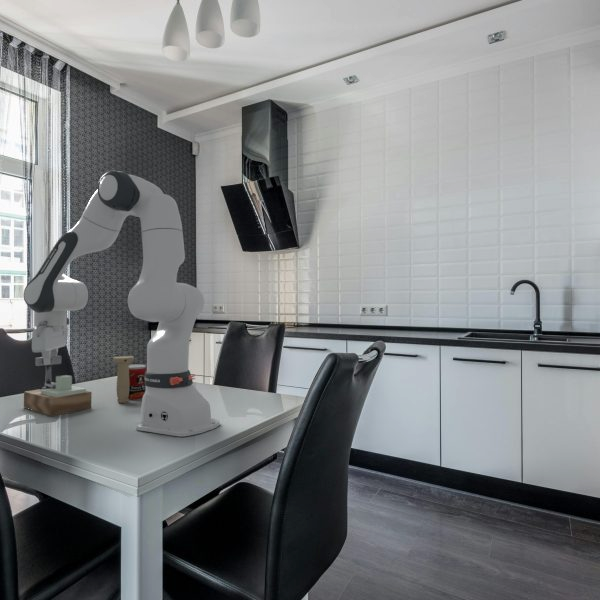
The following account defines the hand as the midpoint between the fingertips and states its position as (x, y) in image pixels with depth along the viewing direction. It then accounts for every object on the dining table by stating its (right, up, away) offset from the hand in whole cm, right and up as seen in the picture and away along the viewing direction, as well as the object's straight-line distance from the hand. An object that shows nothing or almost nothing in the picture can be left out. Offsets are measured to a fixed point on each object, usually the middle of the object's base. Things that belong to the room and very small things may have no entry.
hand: (50, 363), depth 135 cm
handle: (+22, -14, +4) cm, 26 cm away
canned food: (+22, -14, +12) cm, 29 cm away
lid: (+8, -8, -6) cm, 13 cm away
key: (+2, -8, -2) cm, 8 cm away
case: (+5, -13, -4) cm, 15 cm away
